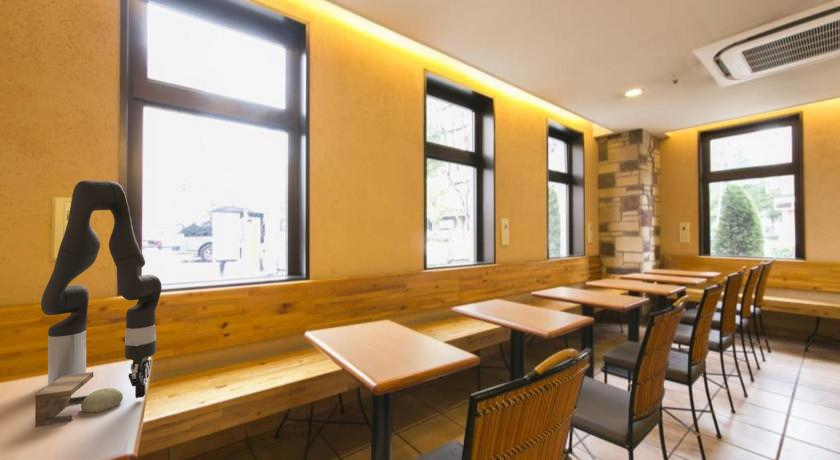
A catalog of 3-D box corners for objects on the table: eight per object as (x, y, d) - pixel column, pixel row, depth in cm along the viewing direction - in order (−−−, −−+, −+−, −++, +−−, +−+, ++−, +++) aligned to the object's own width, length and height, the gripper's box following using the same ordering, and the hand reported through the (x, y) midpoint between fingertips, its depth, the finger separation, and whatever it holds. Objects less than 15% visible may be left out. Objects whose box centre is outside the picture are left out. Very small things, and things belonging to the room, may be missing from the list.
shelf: (62, 403, 106) (62, 375, 106) (93, 399, 109) (93, 371, 109) (35, 427, 93) (35, 395, 94) (70, 421, 96) (70, 390, 96)
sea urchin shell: (100, 410, 99) (84, 388, 100) (85, 427, 100) (69, 406, 101) (133, 395, 108) (118, 375, 109) (118, 411, 109) (103, 391, 110)
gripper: (133, 335, 113) (132, 389, 113) (117, 348, 101) (116, 409, 101) (161, 333, 116) (161, 385, 116) (149, 345, 104) (148, 404, 104)
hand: (140, 396), depth 108 cm, fingers closed
